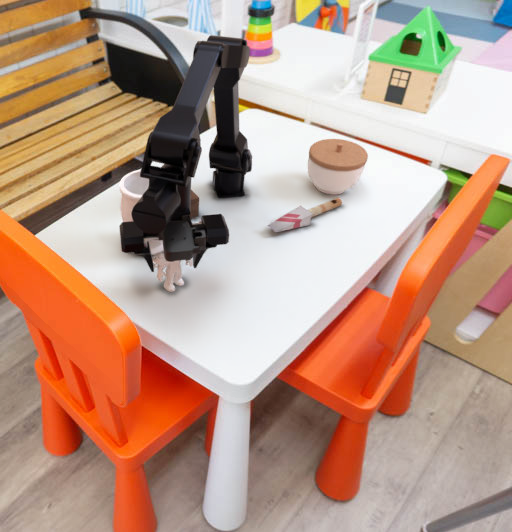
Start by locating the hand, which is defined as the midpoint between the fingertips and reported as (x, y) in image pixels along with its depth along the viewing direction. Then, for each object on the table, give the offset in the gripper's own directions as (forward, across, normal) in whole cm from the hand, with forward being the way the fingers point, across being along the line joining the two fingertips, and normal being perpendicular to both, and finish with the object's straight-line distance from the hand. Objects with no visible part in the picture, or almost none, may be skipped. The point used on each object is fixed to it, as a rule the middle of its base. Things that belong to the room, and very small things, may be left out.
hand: (173, 268), depth 98 cm
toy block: (+4, +5, +23) cm, 24 cm away
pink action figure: (+4, 0, 0) cm, 4 cm away
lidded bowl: (+5, +41, +29) cm, 51 cm away
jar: (+4, -4, +13) cm, 14 cm away
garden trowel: (+5, +31, +17) cm, 36 cm away
